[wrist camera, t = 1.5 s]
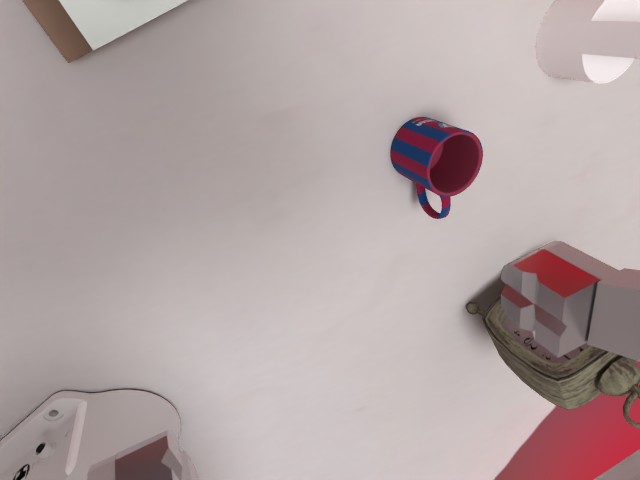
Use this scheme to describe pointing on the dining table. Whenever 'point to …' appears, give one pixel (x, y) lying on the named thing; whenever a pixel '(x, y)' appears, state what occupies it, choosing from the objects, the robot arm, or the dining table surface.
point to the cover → (113, 16)
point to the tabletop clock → (561, 365)
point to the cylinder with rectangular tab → (589, 39)
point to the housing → (59, 28)
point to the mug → (436, 159)
